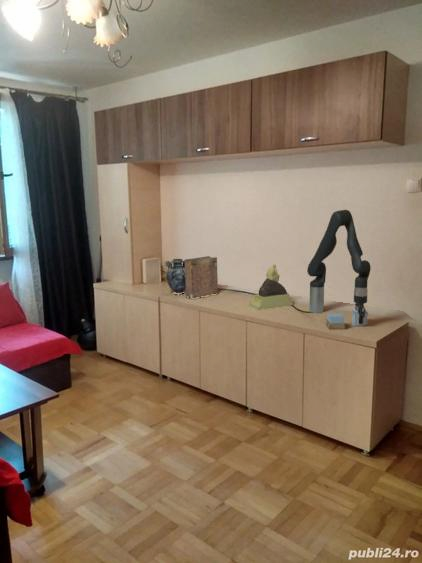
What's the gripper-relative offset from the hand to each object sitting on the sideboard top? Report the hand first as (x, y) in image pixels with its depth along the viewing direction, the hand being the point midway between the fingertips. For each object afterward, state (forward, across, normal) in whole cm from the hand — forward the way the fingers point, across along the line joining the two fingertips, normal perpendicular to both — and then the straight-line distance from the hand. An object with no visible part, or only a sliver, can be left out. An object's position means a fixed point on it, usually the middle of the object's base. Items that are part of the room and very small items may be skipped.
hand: (359, 322), depth 273 cm
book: (+2, -82, -101) cm, 130 cm away
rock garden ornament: (+2, -49, -49) cm, 70 cm away
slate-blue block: (-2, +4, -15) cm, 15 cm away
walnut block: (+2, +4, -15) cm, 16 cm away
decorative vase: (+2, -92, -121) cm, 152 cm away
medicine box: (+2, 0, 0) cm, 2 cm away
